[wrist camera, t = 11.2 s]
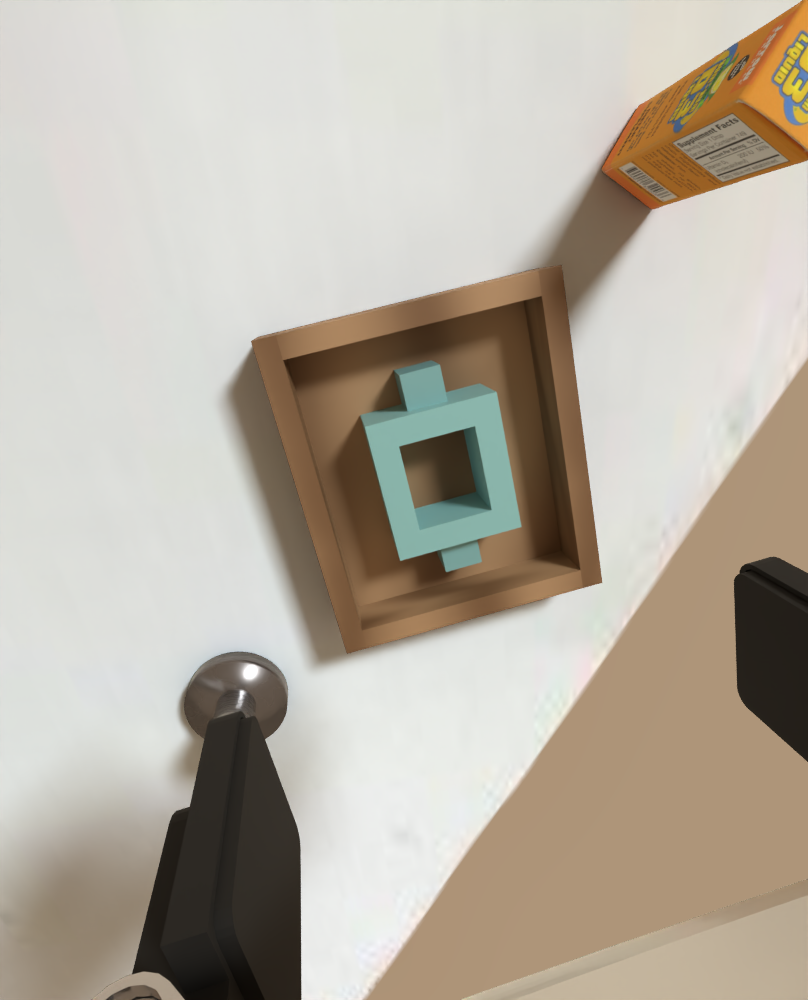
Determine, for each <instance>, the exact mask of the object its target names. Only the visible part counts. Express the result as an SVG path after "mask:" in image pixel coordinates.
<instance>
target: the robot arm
mask: <svg viewBox="0 0 808 1000" xmlns="http://www.w3.org/2000/svg"><path fill="white" fill-rule="evenodd" d="M734 598H735V628H736V629H735V630H736V661H737V689H738V693H739V696H740V698H741V700H742V702H743V703H744V704H745V706H746V707H747V708H748V709H749V710H750V711H752V712H753V713H754V714H755V715H756V716H757V717H758V718H760V720H762V721H763V722H764V723H765V724H766V725H767V726H768V727H769V728H771V729H772V730H773V731H774V732H775V733H776V734H777V735H778V736H779V737H781V738H782V739H783V740H784V741H785V742H786V743H787V744H788V745H790V746H791V747H792V748H793V749H794V750H795V751H796V752H797V753H798V754H800V755H801V756H802V757H803V758H804V759H805V760H806V761H807V762H808V573H806V572H804V571H803V570H801V569H799V568H797V567H795V566H793V565H791V564H789V563H787V562H785V561H784V560H781V559H780V558H777V557H769V558H766V559H762V560H759V561H755V562H752V563H748V564H745V565H744V566H742V567H741V570H740V574H738V575H737V576H736V577H735V579H734ZM91 1000H301V864H300V839H299V833H298V829H297V825H296V822H295V820H294V817H293V814H292V812H291V809H290V806H289V804H288V801H287V798H286V795H285V793H284V790H283V787H282V785H281V782H280V779H279V777H278V774H277V771H276V768H275V766H274V763H273V760H272V758H271V755H270V752H269V750H268V747H267V744H266V742H265V739H264V736H263V733H262V731H261V728H260V725H259V723H258V720H257V718H256V717H255V716H251V717H247V718H246V717H245V714H244V713H243V712H242V711H238V712H235V713H231V714H228V715H224V716H221V717H218V718H214V719H211V720H210V721H209V722H208V725H207V730H206V734H205V739H204V744H203V748H202V753H201V758H200V762H199V767H198V772H197V776H196V781H195V786H194V790H193V795H192V800H191V804H190V807H188V808H185V809H181V810H178V811H176V812H175V813H174V814H173V815H172V818H171V820H170V823H169V827H168V831H167V835H166V839H165V843H164V847H163V851H162V855H161V859H160V863H159V867H158V871H157V875H156V880H155V884H154V888H153V892H152V896H151V900H150V904H149V908H148V912H147V916H146V920H145V924H144V928H143V932H142V936H141V940H140V944H139V948H138V952H137V957H136V961H135V965H134V969H133V973H132V975H128V976H125V977H123V978H122V979H120V980H118V981H116V982H114V983H112V984H110V985H109V986H107V987H106V988H105V989H104V990H102V991H101V992H100V993H99V994H98V995H96V996H95V997H94V998H93V999H91ZM462 1000H808V879H806V880H803V881H800V882H797V883H794V884H791V885H788V886H785V887H782V888H780V889H777V890H774V891H771V892H768V893H765V894H763V895H759V896H756V897H753V898H750V899H748V900H745V901H742V902H739V903H736V904H733V905H730V906H727V907H724V908H722V909H719V910H716V911H713V912H710V913H707V914H704V915H701V916H698V917H695V918H692V919H690V920H687V921H684V922H681V923H678V924H675V925H672V926H669V927H667V928H664V929H661V930H658V931H655V932H652V933H649V934H646V935H644V936H641V937H638V938H635V939H632V940H629V941H626V942H623V943H621V944H617V945H615V946H612V947H609V948H606V949H603V950H600V951H597V952H595V953H592V954H589V955H586V956H583V957H580V958H578V959H575V960H572V961H569V962H567V963H563V964H561V965H558V966H555V967H552V968H549V969H546V970H543V971H541V972H538V973H535V974H532V975H529V976H526V977H524V978H521V979H518V980H515V981H512V982H510V983H507V984H504V985H501V986H498V987H495V988H492V989H489V990H487V991H484V992H481V993H478V994H475V995H473V996H470V997H467V998H464V999H462Z"/></svg>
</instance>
